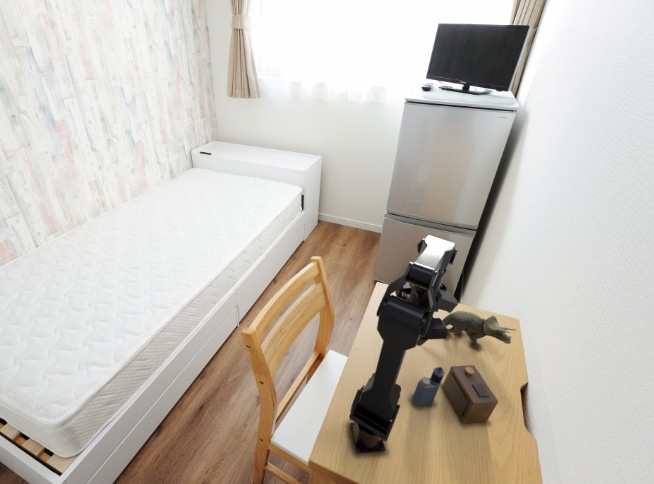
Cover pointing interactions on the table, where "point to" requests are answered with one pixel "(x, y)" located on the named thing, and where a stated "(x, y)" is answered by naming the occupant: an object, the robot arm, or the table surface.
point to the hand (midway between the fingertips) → (411, 331)
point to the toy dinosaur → (476, 327)
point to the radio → (469, 394)
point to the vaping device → (428, 388)
